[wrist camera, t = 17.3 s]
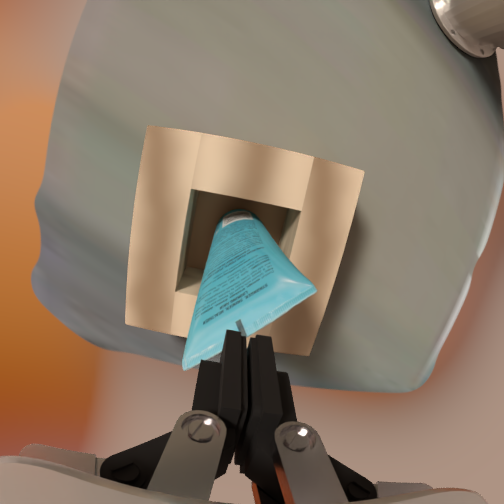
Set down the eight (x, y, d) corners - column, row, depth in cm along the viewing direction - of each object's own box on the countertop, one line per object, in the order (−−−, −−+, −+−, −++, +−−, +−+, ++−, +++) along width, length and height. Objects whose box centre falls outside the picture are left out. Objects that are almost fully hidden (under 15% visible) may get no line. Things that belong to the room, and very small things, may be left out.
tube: (228, 270, 33) (218, 400, 15) (197, 236, 32) (148, 340, 14) (283, 226, 32) (340, 319, 14) (253, 189, 31) (275, 239, 12)
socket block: (336, 167, 32) (364, 171, 24) (296, 317, 37) (308, 356, 29) (169, 132, 30) (147, 125, 22) (146, 290, 35) (125, 323, 27)
